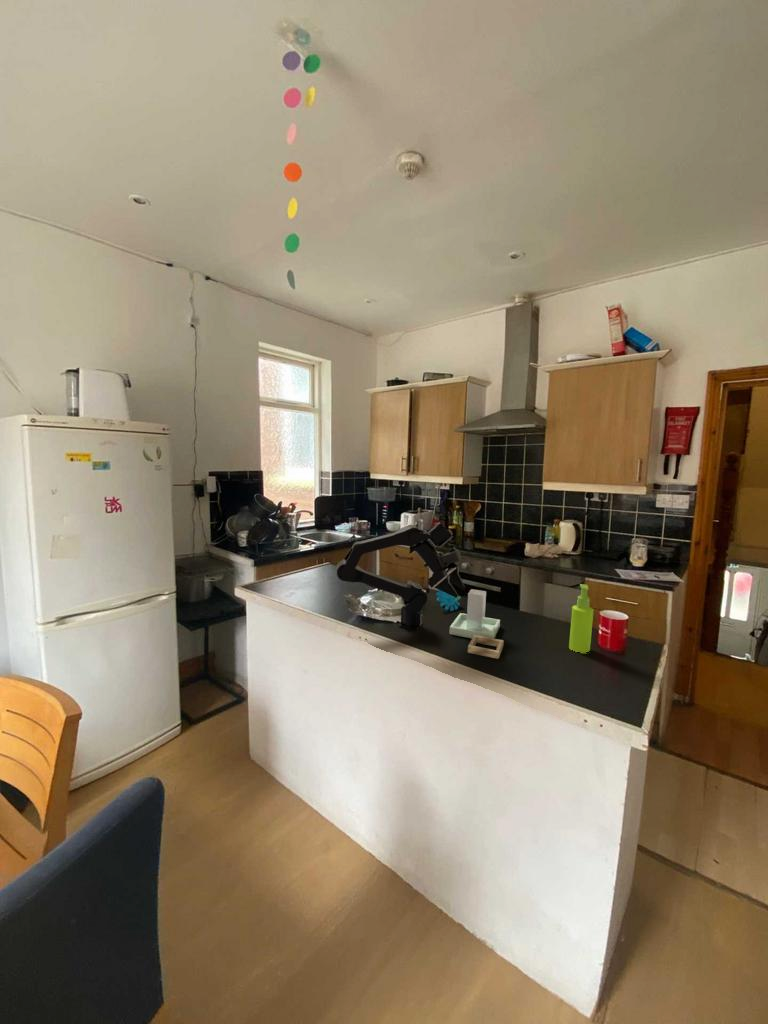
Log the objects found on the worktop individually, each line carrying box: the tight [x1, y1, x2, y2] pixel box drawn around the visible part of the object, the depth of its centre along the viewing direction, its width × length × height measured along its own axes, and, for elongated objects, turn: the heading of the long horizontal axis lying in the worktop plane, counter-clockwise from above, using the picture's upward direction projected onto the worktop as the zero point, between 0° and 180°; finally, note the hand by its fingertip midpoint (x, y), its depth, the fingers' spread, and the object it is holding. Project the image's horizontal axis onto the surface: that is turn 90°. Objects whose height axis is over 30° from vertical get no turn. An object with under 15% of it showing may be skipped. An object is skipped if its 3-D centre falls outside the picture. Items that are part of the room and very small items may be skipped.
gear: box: [435, 589, 462, 612], centre depth 165 cm, size 11×6×10 cm
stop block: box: [466, 588, 487, 632], centre depth 142 cm, size 5×5×12 cm
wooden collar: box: [467, 635, 504, 660], centre depth 129 cm, size 9×9×2 cm
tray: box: [449, 612, 501, 639], centre depth 143 cm, size 14×14×2 cm
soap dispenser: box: [568, 583, 594, 654], centre depth 130 cm, size 6×7×20 cm
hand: (460, 592), depth 140 cm, fingers open, 9 cm apart
